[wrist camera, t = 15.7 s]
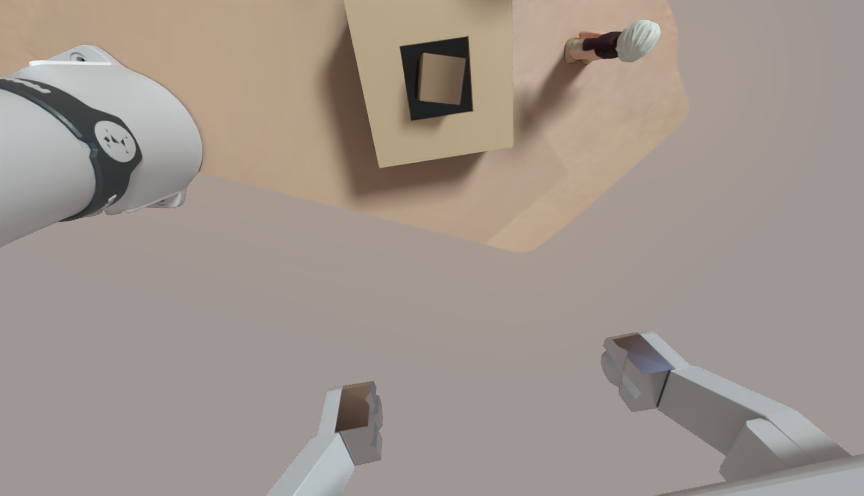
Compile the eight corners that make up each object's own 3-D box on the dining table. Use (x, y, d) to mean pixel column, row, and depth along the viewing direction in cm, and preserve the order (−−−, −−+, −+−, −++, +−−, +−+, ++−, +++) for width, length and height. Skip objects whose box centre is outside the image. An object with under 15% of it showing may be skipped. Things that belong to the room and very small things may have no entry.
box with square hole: (381, 155, 43) (379, 168, 36) (352, 12, 35) (342, -5, 28) (495, 137, 43) (513, 146, 37) (490, -7, 36) (512, -29, 29)
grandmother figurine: (608, 28, 39) (695, 5, 27) (604, 63, 40) (683, 55, 29) (548, 36, 38) (612, 15, 27) (546, 71, 40) (605, 66, 29)
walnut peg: (414, 97, 39) (419, 100, 30) (416, 60, 37) (423, 52, 29) (445, 100, 40) (459, 105, 31) (449, 64, 38) (465, 58, 29)
